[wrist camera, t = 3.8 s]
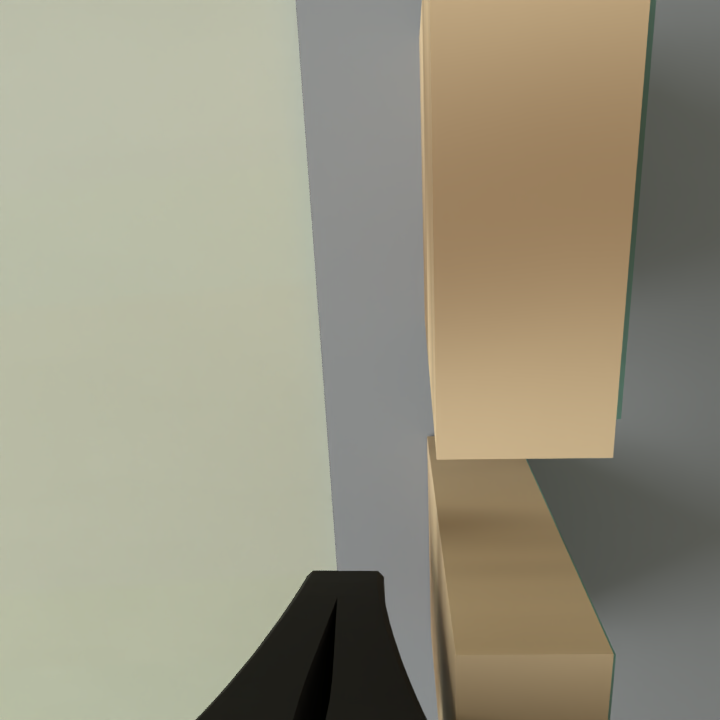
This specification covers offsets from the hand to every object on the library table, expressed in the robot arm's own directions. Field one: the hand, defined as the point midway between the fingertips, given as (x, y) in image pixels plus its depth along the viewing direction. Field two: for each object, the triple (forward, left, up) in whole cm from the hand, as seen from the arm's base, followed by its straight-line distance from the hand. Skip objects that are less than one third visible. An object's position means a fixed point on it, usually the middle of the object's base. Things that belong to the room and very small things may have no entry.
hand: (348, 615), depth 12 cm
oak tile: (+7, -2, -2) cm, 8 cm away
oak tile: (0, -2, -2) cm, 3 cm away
